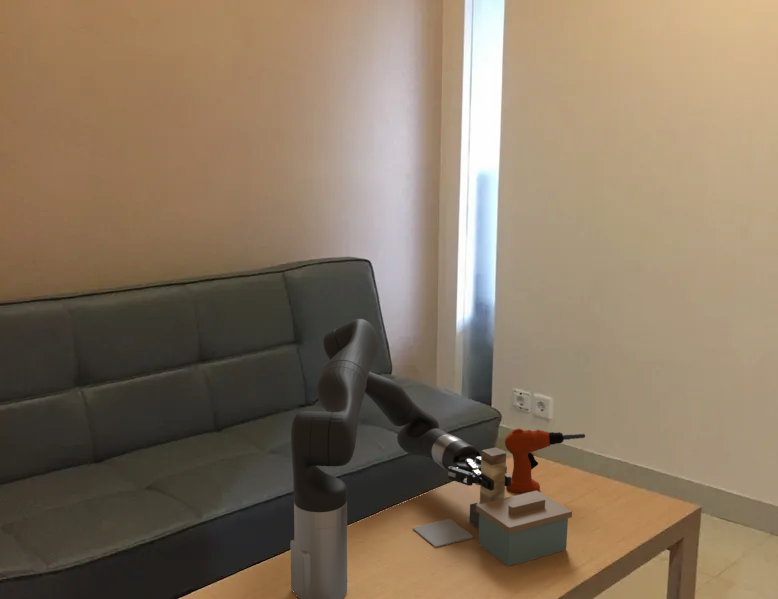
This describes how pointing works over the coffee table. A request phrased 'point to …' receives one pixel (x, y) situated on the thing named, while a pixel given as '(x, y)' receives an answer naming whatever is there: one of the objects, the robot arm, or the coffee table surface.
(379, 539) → the coffee table surface
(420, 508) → the coffee table surface
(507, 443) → the toy drill
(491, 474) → the mottled beige block
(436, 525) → the rubber mat
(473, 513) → the gray open box
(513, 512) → the toolbox
